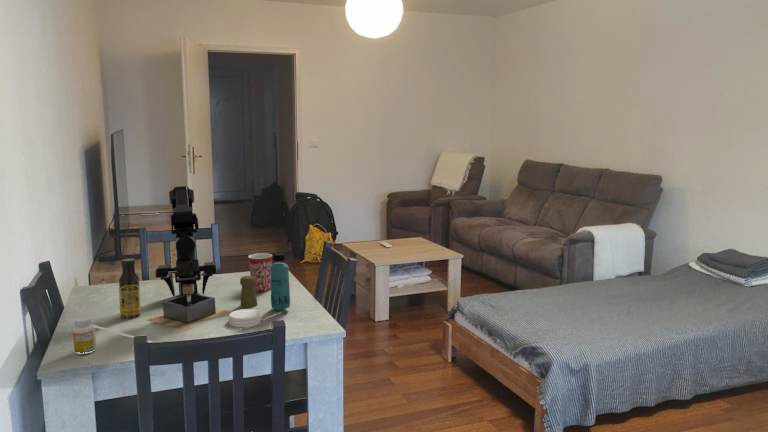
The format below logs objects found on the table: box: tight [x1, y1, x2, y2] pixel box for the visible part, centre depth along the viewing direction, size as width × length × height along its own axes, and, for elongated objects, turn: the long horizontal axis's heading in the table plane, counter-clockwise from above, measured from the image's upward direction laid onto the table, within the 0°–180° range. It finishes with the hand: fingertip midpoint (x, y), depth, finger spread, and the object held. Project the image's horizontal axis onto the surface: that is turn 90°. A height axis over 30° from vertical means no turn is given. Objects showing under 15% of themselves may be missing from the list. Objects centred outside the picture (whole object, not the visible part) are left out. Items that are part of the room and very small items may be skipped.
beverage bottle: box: [269, 252, 291, 310], centre depth 195 cm, size 6×7×20 cm
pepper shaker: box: [239, 275, 258, 309], centre depth 201 cm, size 6×6×11 cm
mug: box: [247, 252, 273, 293], centre depth 223 cm, size 13×9×14 cm
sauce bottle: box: [118, 258, 141, 320], centre depth 190 cm, size 6×6×20 cm
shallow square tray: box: [162, 293, 217, 324], centre depth 191 cm, size 14×12×6 cm
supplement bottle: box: [72, 316, 97, 353], centre depth 162 cm, size 5×5×10 cm
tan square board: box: [144, 307, 233, 331], centre depth 191 cm, size 20×20×1 cm
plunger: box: [182, 284, 194, 306], centre depth 190 cm, size 9×9×10 cm
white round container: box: [228, 308, 262, 329], centre depth 185 cm, size 10×10×4 cm
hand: (188, 295), depth 190 cm, fingers open, 9 cm apart
